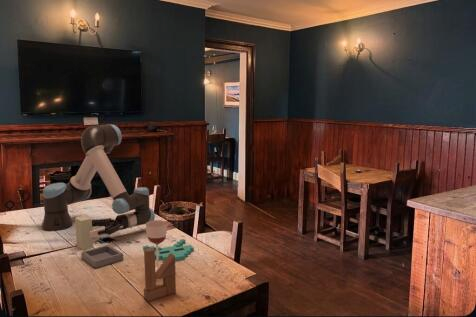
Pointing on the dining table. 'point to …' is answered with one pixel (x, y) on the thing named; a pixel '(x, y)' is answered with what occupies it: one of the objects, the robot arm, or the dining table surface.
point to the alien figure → (173, 251)
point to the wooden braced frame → (158, 276)
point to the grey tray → (102, 256)
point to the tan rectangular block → (83, 232)
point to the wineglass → (156, 234)
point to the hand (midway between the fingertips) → (84, 230)
